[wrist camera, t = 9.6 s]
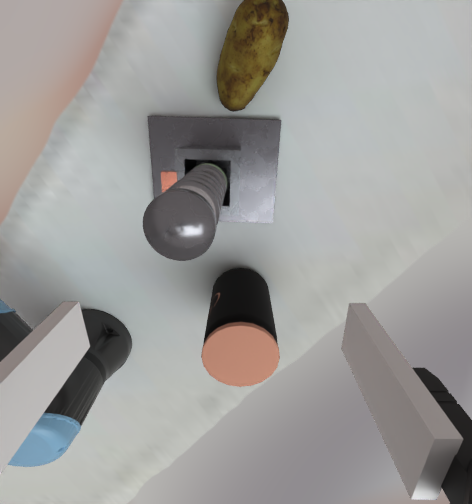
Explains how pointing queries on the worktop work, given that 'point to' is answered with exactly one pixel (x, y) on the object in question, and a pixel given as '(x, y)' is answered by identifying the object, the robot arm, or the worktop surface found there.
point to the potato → (250, 50)
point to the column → (187, 213)
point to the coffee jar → (240, 330)
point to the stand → (220, 159)
